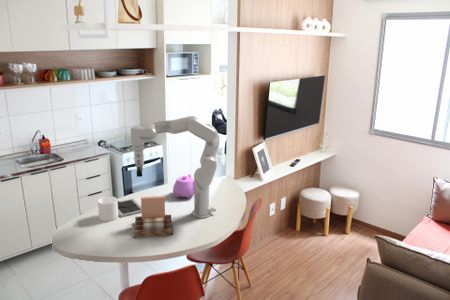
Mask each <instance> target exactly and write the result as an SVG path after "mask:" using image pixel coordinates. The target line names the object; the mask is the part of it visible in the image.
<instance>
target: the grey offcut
mask: <svg viewBox="0 0 450 300" xmlns="http://www.w3.org/2000/svg"><path fill="white" fill-rule="evenodd" d="M151 229H164V222H161V223H143V230H151Z"/></svg>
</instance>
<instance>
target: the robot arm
mask: <svg viewBox="0 0 450 300" xmlns="http://www.w3.org/2000/svg"><path fill="white" fill-rule="evenodd" d="M185 132H189V133H191V134H193V136H195V137H197V138H200V139H201V140H202V141H205V145H204V148H203V150H202V154H201V156H200V160H199V163H200V167H198V168H197V169H195V171H194V174H193V179H194V195H193V197H194V200H193V201H194V202H193V203H194V204H193V205H194V206H193V208H194V209H193V210H192V211H191V215H192V216H193V217H194V218H198V219H205V218H209V217H210V216H211V215H212V212H213V213H214V212H217V208H214V207H213V206H212V207H210V186H211V184H212V183H213V179H214V177H215V174H216V170H217V166H218V163H217V160H216V157H217V154H218V150H219V147H220V135H219V133H218V131H217V129H216V127H214V126H213V125H212V124H210V123H209V124H208V123H207V124H204V123H202V122H201V121H200V120H199V119H198V117H197V116H196V115H195V116H194V115H189V116H185V117H181V118H176V119H172V120H170V119H169V120H161V121H160V120H159V121H155V122H151V123H148V124H146V125H145V126H144V127H143V126H138V125H137V126H132V127H131V128H130V144H131V150H132V152H133V157H134V164H135V168H136V178H138V177H141V178H142V177H143V167H145V166H144V165H145V160H144V159H145V157H144V150H145V140H147V141H149V140H154V139H155V138H156V137H157V135H158V134H163V133H169V134H172V135H177V134H181V133H182V134H183V133H185Z"/></svg>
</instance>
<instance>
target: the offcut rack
mask: <svg viewBox="0 0 450 300" xmlns="http://www.w3.org/2000/svg"><path fill="white" fill-rule="evenodd" d="M133 233H134V238H144V237H145V238H149V237H161V236H162V237H164V236H173V235H174V229H173V219H172V214H165V219H164V229H151V230H143V220H142V215H139V216H135V220H134V231H133Z"/></svg>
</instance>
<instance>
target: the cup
mask: <svg viewBox="0 0 450 300" xmlns="http://www.w3.org/2000/svg"><path fill="white" fill-rule="evenodd" d="M117 201H118V198H117V197H116V196H112V195H111V196H109V195H108V196H103V197H100V198H99V199H98V200H97V207H98V219H99V220H100V221H102V222H113V221H115V220H117V219H118V218H119V214H118V202H117Z"/></svg>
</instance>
